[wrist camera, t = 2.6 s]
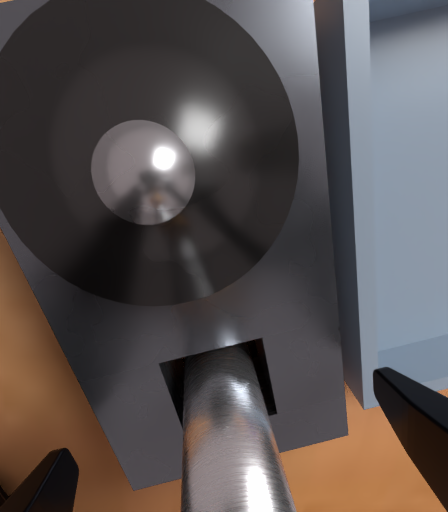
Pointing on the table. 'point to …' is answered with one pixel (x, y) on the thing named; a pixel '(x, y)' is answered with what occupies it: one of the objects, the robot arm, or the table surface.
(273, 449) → the lock pin
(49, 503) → the robot arm
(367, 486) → the table surface
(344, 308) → the tray
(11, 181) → the grey holder base
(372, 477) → the table surface
